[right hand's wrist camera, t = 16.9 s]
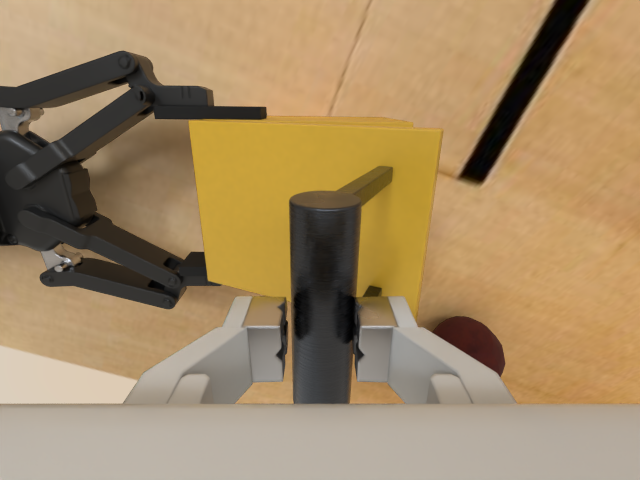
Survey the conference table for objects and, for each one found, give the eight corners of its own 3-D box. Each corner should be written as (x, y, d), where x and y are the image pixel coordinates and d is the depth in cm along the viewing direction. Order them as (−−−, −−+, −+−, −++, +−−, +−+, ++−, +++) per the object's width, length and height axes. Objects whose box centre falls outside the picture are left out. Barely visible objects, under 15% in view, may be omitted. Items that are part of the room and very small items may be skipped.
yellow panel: (443, 128, 15) (404, 151, 7) (416, 322, 19) (370, 478, 11) (202, 119, 20) (20, 127, 12) (219, 273, 24) (89, 356, 16)
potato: (417, 366, 38) (438, 419, 32) (414, 307, 35) (437, 353, 29) (483, 358, 38) (518, 410, 31) (486, 298, 35) (525, 343, 28)
